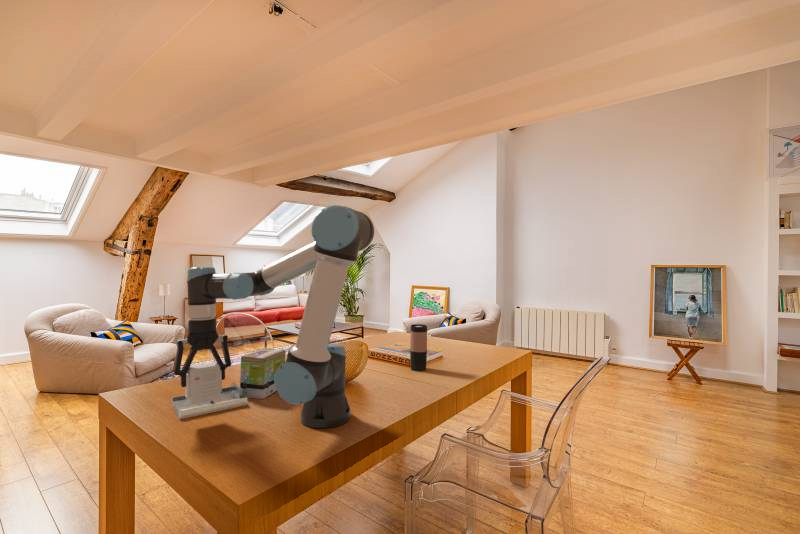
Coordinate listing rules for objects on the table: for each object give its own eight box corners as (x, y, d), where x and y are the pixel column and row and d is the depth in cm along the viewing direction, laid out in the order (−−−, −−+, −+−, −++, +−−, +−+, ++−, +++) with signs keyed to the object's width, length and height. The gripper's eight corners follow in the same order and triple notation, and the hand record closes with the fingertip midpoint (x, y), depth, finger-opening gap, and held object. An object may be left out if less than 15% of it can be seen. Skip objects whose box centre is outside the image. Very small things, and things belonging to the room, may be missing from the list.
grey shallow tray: (247, 405, 130) (247, 390, 130) (179, 419, 117) (179, 403, 117) (235, 393, 141) (235, 380, 141) (172, 405, 128) (172, 390, 128)
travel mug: (407, 367, 179) (408, 324, 179) (423, 366, 181) (423, 324, 181) (413, 372, 172) (413, 327, 171) (429, 370, 174) (429, 326, 174)
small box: (215, 394, 120) (215, 361, 120) (220, 399, 116) (220, 364, 116) (187, 400, 115) (186, 365, 115) (191, 405, 111) (190, 369, 111)
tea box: (264, 399, 135) (265, 357, 135) (239, 397, 137) (239, 356, 137) (285, 386, 150) (286, 348, 150) (262, 384, 152) (262, 347, 152)
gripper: (235, 314, 125) (236, 384, 125) (160, 320, 112) (161, 398, 112) (242, 316, 119) (243, 389, 119) (163, 323, 106) (165, 405, 106)
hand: (203, 393), depth 116 cm, fingers closed on small box, 8 cm apart
